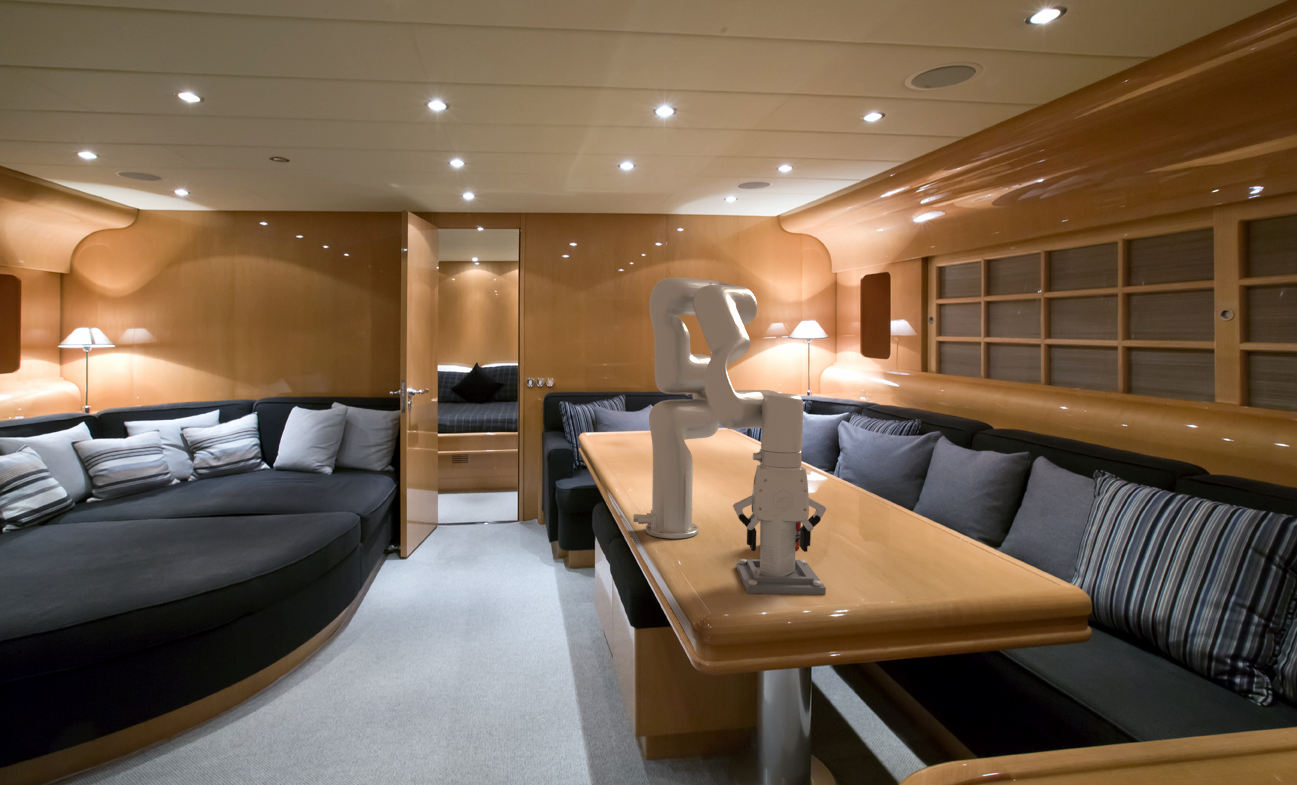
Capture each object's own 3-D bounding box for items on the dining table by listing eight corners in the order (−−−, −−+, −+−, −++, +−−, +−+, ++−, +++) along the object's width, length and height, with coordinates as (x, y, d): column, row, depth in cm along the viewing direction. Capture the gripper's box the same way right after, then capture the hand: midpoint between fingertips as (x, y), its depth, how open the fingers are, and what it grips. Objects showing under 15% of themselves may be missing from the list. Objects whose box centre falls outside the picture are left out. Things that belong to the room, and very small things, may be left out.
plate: (747, 593, 114) (747, 581, 114) (736, 567, 128) (736, 556, 128) (825, 594, 114) (825, 582, 114) (806, 568, 128) (806, 557, 128)
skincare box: (776, 567, 125) (778, 506, 124) (795, 572, 122) (797, 510, 121) (758, 574, 120) (759, 511, 120) (777, 580, 117) (779, 516, 117)
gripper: (737, 462, 116) (735, 554, 117) (832, 464, 116) (829, 556, 117) (732, 455, 124) (729, 542, 125) (821, 457, 124) (818, 544, 125)
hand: (778, 549), depth 121 cm, fingers open, 9 cm apart
